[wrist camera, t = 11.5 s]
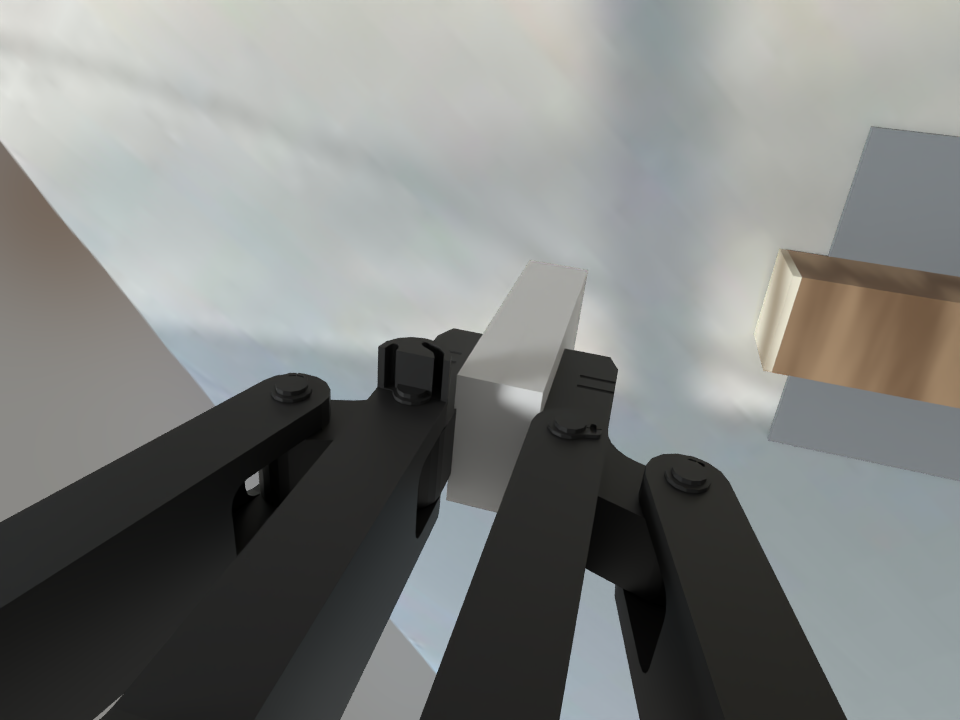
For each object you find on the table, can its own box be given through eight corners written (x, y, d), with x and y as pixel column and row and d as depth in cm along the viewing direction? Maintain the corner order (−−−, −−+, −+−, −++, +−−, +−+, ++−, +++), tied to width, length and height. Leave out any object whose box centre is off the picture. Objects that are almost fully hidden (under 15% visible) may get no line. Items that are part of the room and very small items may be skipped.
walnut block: (763, 370, 33) (1082, 431, 31) (792, 275, 31) (1139, 332, 28) (753, 334, 38) (1032, 384, 35) (779, 248, 36) (1078, 295, 33)
